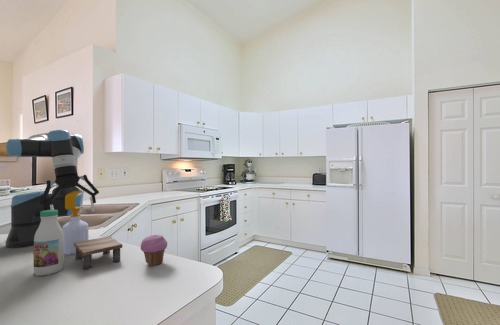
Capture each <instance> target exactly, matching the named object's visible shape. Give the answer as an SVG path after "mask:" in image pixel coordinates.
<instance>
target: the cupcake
mask: <svg viewBox="0 0 500 325" xmlns="http://www.w3.org/2000/svg"><path fill="white" fill-rule="evenodd" d="M167 247H168V240H166V238H165V237H164V236H163V235H162V234H152V235H149V236H146V237H145V238H143V239H142V241H141V243H140V250H141V252H142V253H143V255H144V260H145V263H146V264H147V265H148V266H151V267H152V266H156V265H160V264H162V263H163V262H164V255H165V250H166V249H167Z"/></svg>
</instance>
